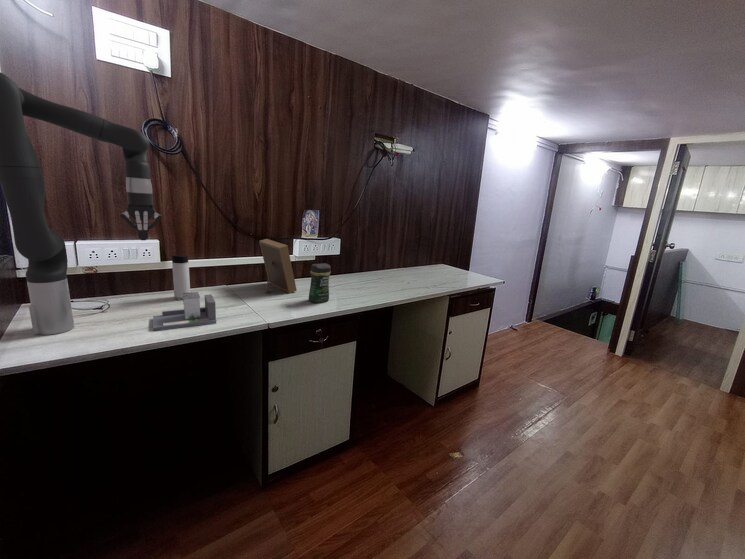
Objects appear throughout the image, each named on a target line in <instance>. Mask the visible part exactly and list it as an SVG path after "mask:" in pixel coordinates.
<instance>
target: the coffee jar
mask: <svg viewBox="0 0 745 559" xmlns="http://www.w3.org/2000/svg"><path fill="white" fill-rule="evenodd" d="M331 272H332V271H331V264H328V263H326V262H324V263H312V264H311V266H310V270H309V273H310V278H311V279H310V286H309V292H308V300H309V301H310V302H311V303H317V304H319V303H325V302H328V301H329V300H330V287H329V286H330V275H331Z"/></svg>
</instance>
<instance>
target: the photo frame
mask: <svg viewBox="0 0 745 559" xmlns="http://www.w3.org/2000/svg"><path fill="white" fill-rule="evenodd" d="M258 241H259V242H258V243H259V246H260V251H261V255H262V259H263V263H264V266H265V271H266V275H267V282H266V288H265V294H267V293H268V289H269V284H270V285H271V286H274V287H276V288H278V289H280V290H282V291H284V292H286V293H288V294H291V293H294V292H296V291H297V285H296V282H295V281H296V280H295V275H294V271H293V266H292V261H291V256H290V251H289V245H287V244H285V243H281V242H277V241H275V240H271V239H269V238H264V239H261V240H258Z"/></svg>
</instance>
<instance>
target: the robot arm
mask: <svg viewBox="0 0 745 559" xmlns="http://www.w3.org/2000/svg"><path fill="white" fill-rule="evenodd" d="M24 117H29V118H32V119H35V120H40V121H43V122H46V123H49V124H52V125H55V126H58V127H61V128H63V129H65V130H68V131H71V132H74V133H77V134H79V135H82V136H85V137H88V138H91V139H94V140H96V141H100V142H103V143H108V144H113V145H116V146H119V147H121V148H122V152H123V158H124V161H125V162H124V163H125V166H124V167H125V176H126V177H125V187H126V188H125V189H126V199H127V200H126V201H127V207H126V210H125V211H124V212H122V213H120V214H119V216H120V218H121V219H123V220H124V221H125V222H126V224H128V226H130V227H131V229H134V230H135V229H136V230H137V233H138V235H137V236H138V239H139V240H141V241H147V240H148V238H149V232H148V231H149V230H151V229H154V227H156V225H157V224H158V223H159V222H160V220H161V219H163V216H162V214H159V213H158V212H157V211H156V209H155V208H154V196H153V191H154V190H153V186H152V180H151V168H150V164H149V163H148V160H147V151H148V150H149V149H150V140H149V138H148V137H147V136H146V135H145V134H144V133H143V132H141V131H139V130H137V129H134V128H132V127H127V126H124V125H121V124H118V123H115V122H111V121H109V119H108V120H107V119H105V118H102V117H100V116H98V115H95V114H92V113H89V112H87V111H84V110H80V109H78V108H74V107H69V106H67V105H63V104H60V103H57V102H53V101H51V100H48V99H45V98H43V97H40V96H37V95H35V94H33V93H31V92H28V91H27V90H25V89H23V88H21V87H19V86H18V84H16V82H15V81H13V80H12V79H11V78H10V77H9V76H8V75H6V74H5V73H3V72H1V71H0V187H1V192H2V194H3V197H4V200H5V203H6V206H7V210H8V211H9V215H10V220H11V225H12V231H13V239H14V245H15V249H16V250H17V252H18V253H19V254H20V255H21V256H22V257H23V258H25V259H27V260H28V263H27V264H28V265H27V269H26V271H25V278H26V283H27V290H28V295H29V301H30V305H29V306H28V310H29V316H30V320H31V327H32V332H33V335H42V336H43V335H45V336H47V335H56V334H61V333H65V332H68V331H70V330H73V329H74V328H75V324H74V322H75V321H74V316H73V309H72V301H71V296H70V288H69V282H68V276H67V275H68V274H67V273H68V255H67V249H66V248H67V247H66V243H65V242H66V241H65V239H64V238H63V236H62V235H61V233H59V232H58V231H56V230H55V229H52V228H49V226H48V223H47V220H46V219H47V218H46V215H45V198H46V187H45V186H46V184H45V178H44V175H43V171H42V168H41V164H40V161H39V159H38V155H37V153H36V151H35V148H34V146H33V144H32V141H31V140H30V137H29V135H28V131H27V129H26V125H25V121H24ZM130 216H131V218H133V219H134V220H135V221H136V224H135V223H134V222H133V221H132V220H131V219H130ZM152 217H154V219H153V221H152V222H151V223H150V224H148V223H149V221H150V220H151V219H152ZM142 221H143V224H142ZM142 225H143V226H142Z"/></svg>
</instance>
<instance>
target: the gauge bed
mask: <svg viewBox="0 0 745 559" xmlns="http://www.w3.org/2000/svg"><path fill="white" fill-rule="evenodd" d="M161 313H162V314H159V315H153V316H152V331H153V332H157V331H165V330H175V329H181V328H189V327H190V326H191V327H196V326H197V327H198V326H205V325H214V323H215V324H217V318H216V315H217V311H216V300H215V299H214V297H213V295H212V294H204V307H200V318H197V319H195V320H192V319H188V320H185V316H184V308H181V309H173V310H171V309H170V310H163V311H161Z"/></svg>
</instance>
